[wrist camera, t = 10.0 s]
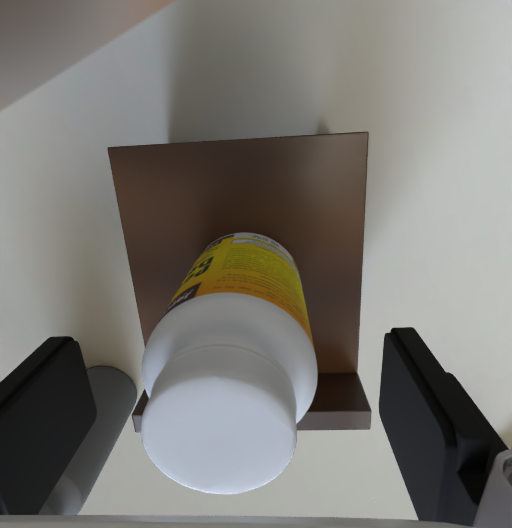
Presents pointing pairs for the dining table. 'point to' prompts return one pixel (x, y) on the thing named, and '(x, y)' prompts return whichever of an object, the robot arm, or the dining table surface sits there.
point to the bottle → (94, 441)
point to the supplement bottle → (230, 369)
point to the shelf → (259, 222)
